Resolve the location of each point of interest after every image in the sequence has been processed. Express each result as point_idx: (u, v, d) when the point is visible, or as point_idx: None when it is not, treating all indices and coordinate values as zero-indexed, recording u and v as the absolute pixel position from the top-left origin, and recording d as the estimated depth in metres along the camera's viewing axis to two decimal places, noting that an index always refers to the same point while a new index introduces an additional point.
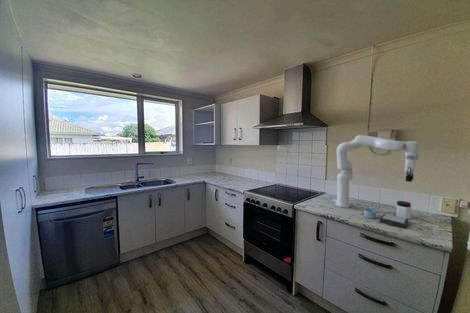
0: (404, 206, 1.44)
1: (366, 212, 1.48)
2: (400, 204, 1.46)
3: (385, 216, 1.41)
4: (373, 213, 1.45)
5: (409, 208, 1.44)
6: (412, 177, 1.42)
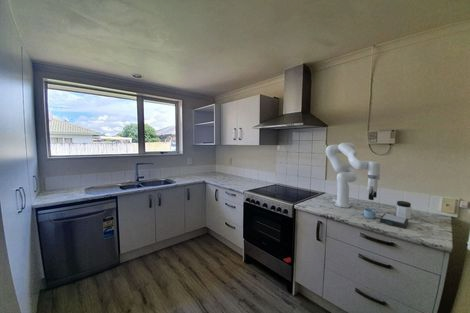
0: (404, 206, 1.44)
1: (366, 212, 1.48)
2: (400, 204, 1.46)
3: (385, 216, 1.41)
4: (373, 213, 1.45)
5: (409, 208, 1.44)
6: (375, 195, 1.49)
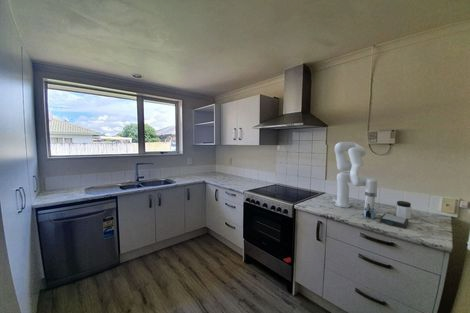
0: (404, 206, 1.44)
1: None
2: (400, 204, 1.46)
3: (385, 216, 1.41)
4: (373, 213, 1.45)
5: (409, 208, 1.44)
6: None
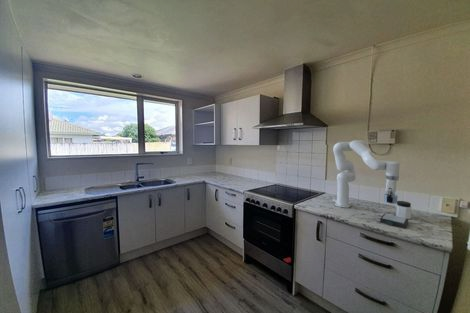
0: (404, 206, 1.44)
1: None
2: (400, 204, 1.46)
3: (385, 216, 1.41)
4: (395, 198, 1.35)
5: (409, 208, 1.44)
6: None
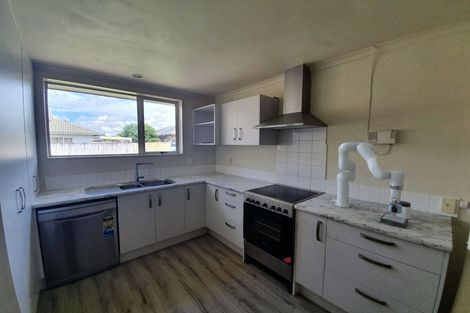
0: (404, 206, 1.44)
1: None
2: (400, 204, 1.46)
3: (385, 216, 1.41)
4: (400, 208, 1.34)
5: (409, 208, 1.44)
6: None
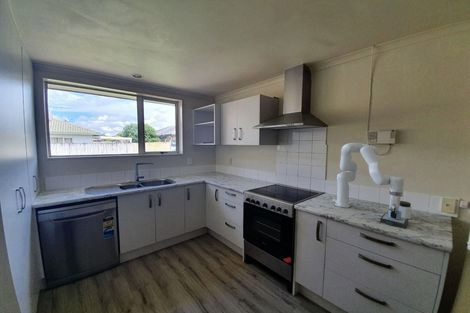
0: (404, 206, 1.44)
1: None
2: (400, 204, 1.46)
3: (385, 216, 1.41)
4: (399, 214, 1.34)
5: (409, 208, 1.44)
6: None
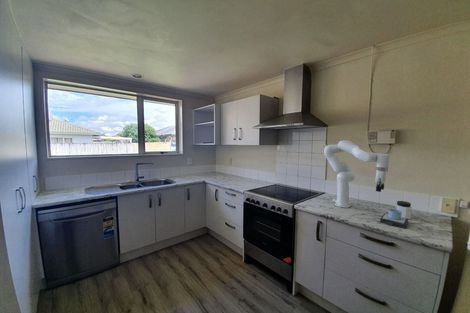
0: (404, 206, 1.44)
1: (391, 213, 1.37)
2: (400, 204, 1.46)
3: (385, 216, 1.41)
4: (399, 214, 1.34)
5: (409, 208, 1.44)
6: (383, 187, 1.51)
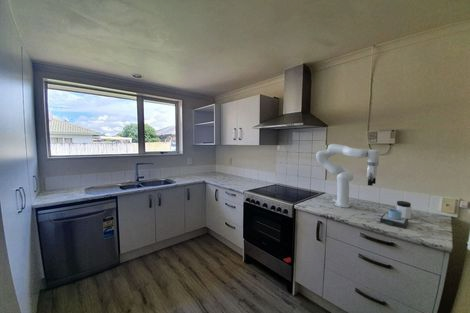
0: (404, 206, 1.44)
1: (391, 213, 1.37)
2: (400, 204, 1.46)
3: (385, 216, 1.41)
4: (399, 214, 1.34)
5: (409, 208, 1.44)
6: (374, 181, 1.58)
